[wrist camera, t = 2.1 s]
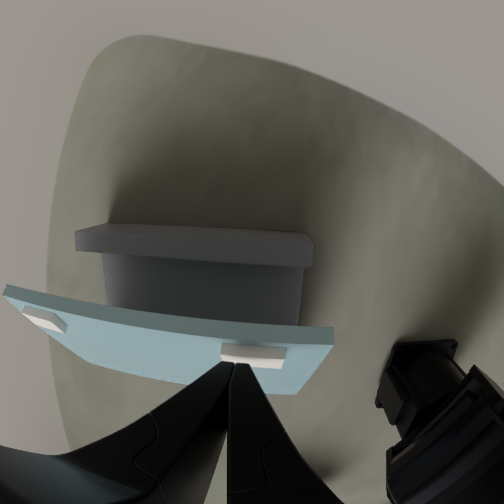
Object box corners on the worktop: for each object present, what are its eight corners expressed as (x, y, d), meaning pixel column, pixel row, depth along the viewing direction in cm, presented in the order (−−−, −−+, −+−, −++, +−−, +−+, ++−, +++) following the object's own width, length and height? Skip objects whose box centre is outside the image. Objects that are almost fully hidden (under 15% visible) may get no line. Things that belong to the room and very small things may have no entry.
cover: (333, 327, 9) (334, 356, 8) (296, 385, 16) (295, 401, 16) (6, 284, 10) (-1, 302, 9) (91, 355, 17) (88, 368, 16)
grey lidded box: (305, 232, 18) (314, 244, 14) (292, 355, 20) (295, 388, 16) (106, 223, 19) (74, 231, 15) (117, 334, 21) (92, 358, 17)
